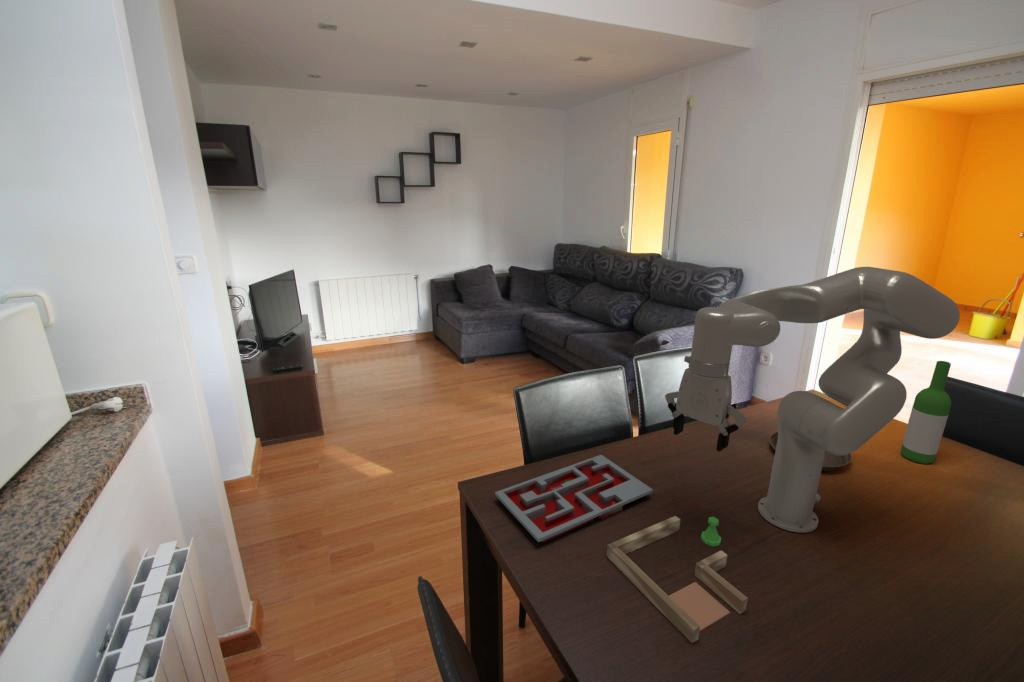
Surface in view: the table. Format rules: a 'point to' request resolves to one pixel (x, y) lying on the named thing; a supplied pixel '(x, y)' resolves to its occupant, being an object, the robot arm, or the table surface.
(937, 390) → the wine bottle
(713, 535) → the game piece
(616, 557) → the bent track
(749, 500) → the table surface
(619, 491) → the maze game
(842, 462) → the plant saucer
